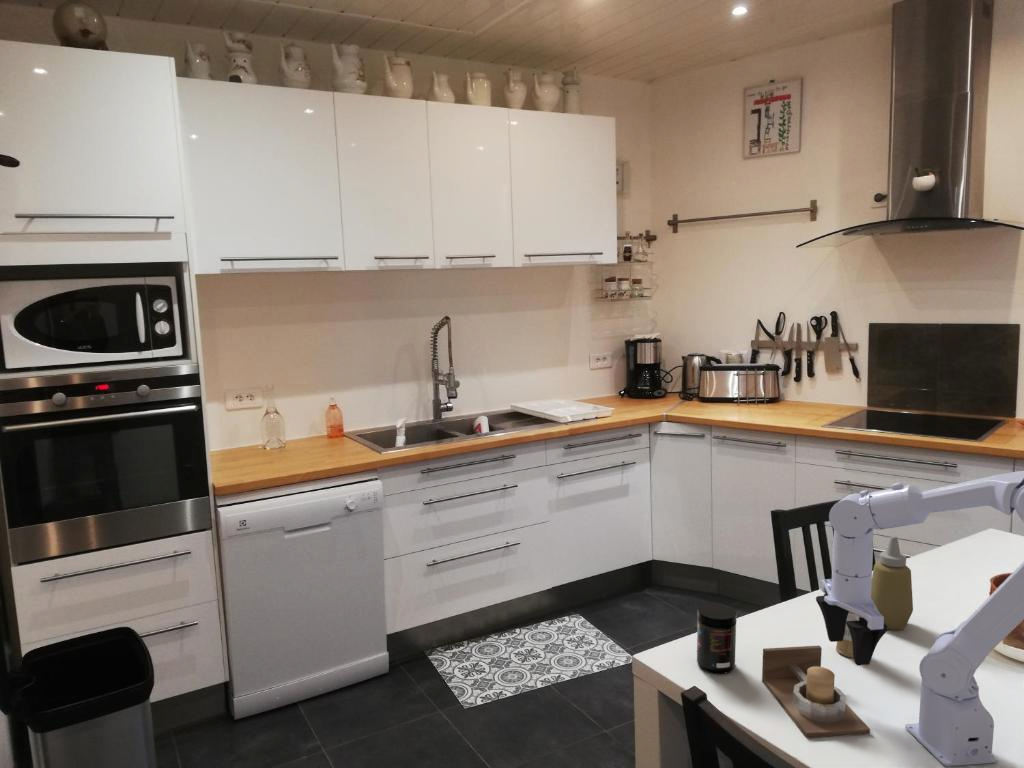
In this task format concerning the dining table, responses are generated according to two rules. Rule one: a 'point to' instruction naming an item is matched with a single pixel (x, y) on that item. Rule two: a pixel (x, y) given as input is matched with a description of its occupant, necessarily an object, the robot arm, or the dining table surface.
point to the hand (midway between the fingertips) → (848, 651)
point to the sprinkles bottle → (847, 638)
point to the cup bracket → (789, 686)
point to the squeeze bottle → (892, 587)
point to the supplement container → (716, 637)
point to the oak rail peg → (820, 685)
